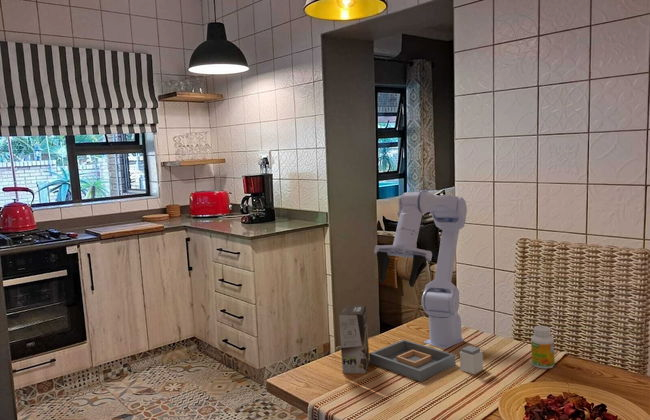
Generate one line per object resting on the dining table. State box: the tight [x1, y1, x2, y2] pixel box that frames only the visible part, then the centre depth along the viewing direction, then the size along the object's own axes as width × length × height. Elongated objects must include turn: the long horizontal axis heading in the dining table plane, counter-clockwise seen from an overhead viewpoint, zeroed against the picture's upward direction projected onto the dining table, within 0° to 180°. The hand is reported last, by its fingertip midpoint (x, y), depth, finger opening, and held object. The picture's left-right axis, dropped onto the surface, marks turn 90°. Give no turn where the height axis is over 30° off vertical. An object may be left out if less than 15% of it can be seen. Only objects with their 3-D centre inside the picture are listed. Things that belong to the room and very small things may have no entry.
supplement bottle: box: [530, 325, 556, 369], centre depth 130 cm, size 5×5×10 cm
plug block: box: [459, 345, 484, 375], centre depth 130 cm, size 4×4×6 cm
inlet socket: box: [396, 350, 432, 367], centre depth 139 cm, size 7×7×1 cm
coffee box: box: [338, 304, 370, 374], centre depth 137 cm, size 9×6×16 cm
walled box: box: [369, 339, 457, 382], centre depth 136 cm, size 14×18×3 cm
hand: (396, 283), depth 126 cm, fingers open, 7 cm apart
